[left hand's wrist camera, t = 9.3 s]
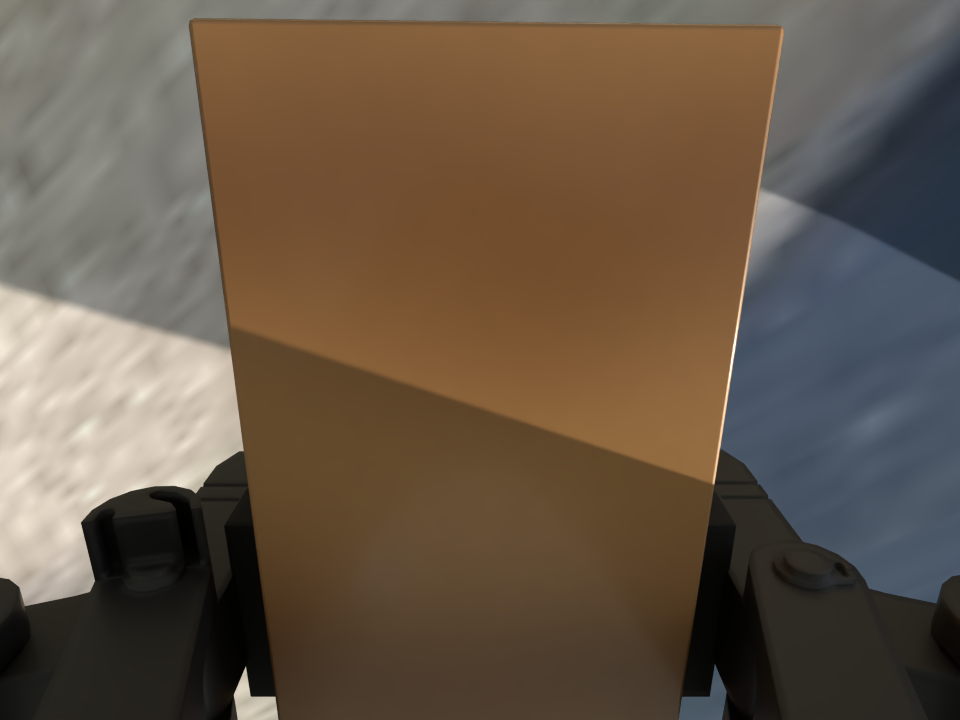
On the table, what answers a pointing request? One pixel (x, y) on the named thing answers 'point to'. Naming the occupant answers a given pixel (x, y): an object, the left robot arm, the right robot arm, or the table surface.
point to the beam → (482, 347)
